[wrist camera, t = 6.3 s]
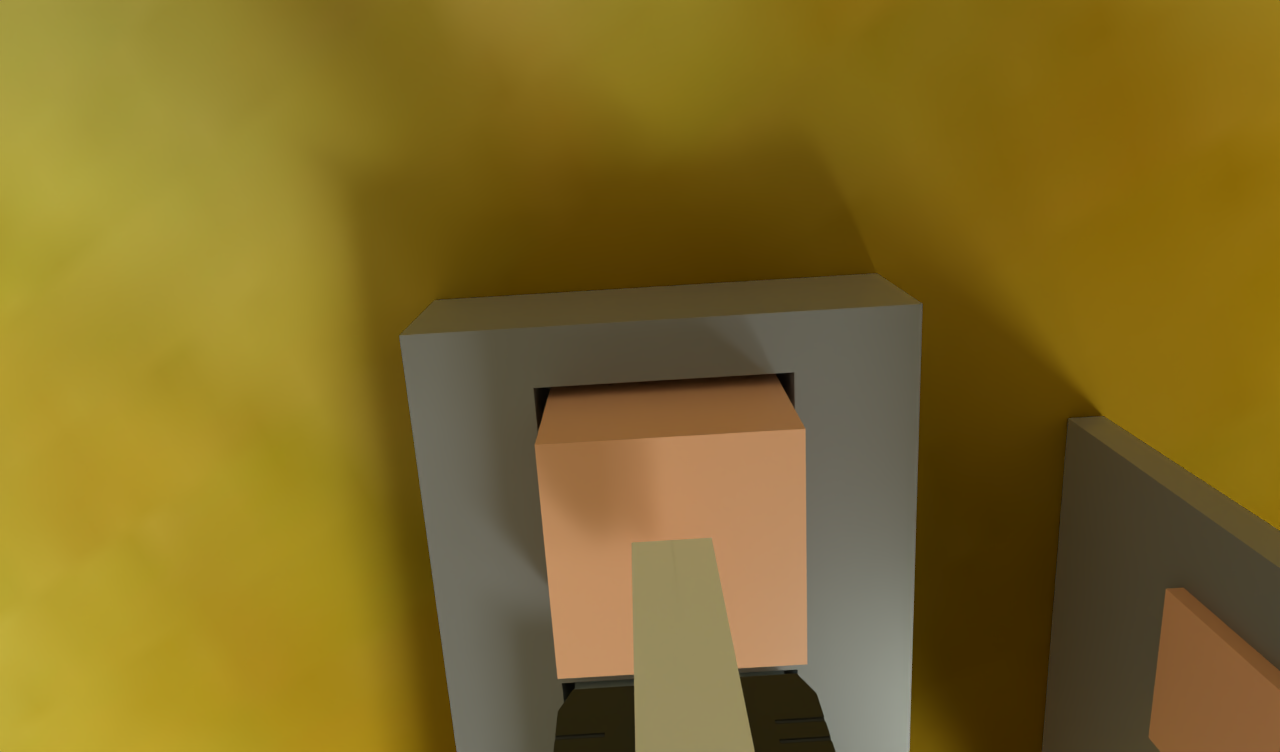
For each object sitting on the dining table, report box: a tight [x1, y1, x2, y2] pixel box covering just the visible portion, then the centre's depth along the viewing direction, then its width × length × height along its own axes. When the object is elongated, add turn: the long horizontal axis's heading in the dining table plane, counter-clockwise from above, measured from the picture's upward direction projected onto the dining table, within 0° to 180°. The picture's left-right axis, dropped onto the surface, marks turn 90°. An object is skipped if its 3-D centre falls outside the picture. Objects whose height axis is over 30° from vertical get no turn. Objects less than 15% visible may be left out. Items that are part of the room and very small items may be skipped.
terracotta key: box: [535, 374, 807, 679], centre depth 21 cm, size 6×6×4 cm
